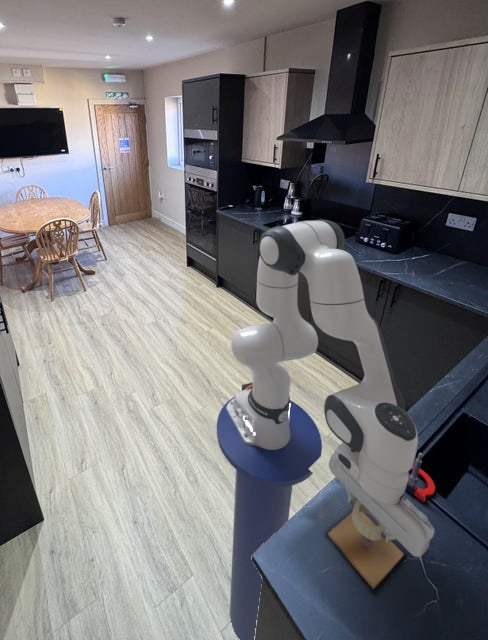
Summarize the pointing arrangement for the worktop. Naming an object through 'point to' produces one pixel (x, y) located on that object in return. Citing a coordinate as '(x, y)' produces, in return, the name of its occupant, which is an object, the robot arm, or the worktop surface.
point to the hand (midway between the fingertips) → (368, 519)
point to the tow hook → (413, 479)
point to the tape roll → (364, 527)
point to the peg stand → (365, 551)
